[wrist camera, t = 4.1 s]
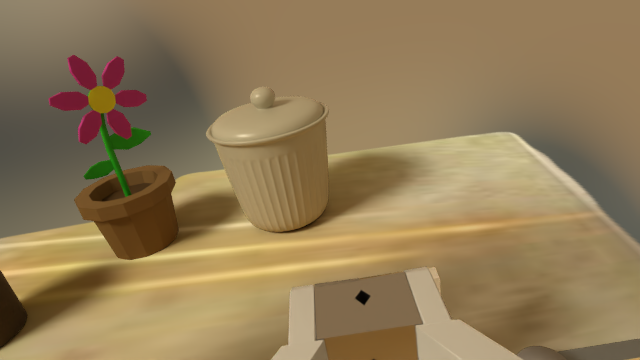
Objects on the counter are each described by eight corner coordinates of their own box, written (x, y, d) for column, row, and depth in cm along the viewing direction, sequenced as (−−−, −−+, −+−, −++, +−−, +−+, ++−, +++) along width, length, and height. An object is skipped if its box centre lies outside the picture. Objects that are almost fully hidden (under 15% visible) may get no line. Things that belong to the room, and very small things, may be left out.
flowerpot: (129, 279, 60) (32, 66, 47) (84, 253, 68) (-7, 68, 56) (208, 227, 69) (146, 39, 56) (160, 210, 78) (97, 44, 65)
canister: (246, 262, 59) (203, 118, 50) (226, 208, 74) (191, 91, 65) (363, 221, 63) (343, 82, 54) (321, 178, 79) (300, 65, 70)
